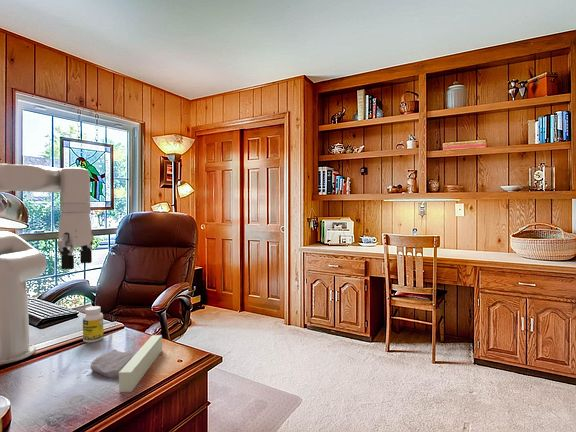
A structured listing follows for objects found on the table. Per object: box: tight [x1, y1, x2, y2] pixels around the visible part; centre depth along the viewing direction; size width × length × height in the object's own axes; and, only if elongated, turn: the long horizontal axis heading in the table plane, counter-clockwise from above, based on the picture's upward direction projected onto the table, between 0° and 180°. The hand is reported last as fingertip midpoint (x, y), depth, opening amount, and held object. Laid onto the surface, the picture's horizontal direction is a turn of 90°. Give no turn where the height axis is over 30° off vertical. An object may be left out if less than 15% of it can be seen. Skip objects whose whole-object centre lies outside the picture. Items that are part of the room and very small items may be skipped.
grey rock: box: [90, 348, 138, 379], centre depth 99 cm, size 12×5×10 cm
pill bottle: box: [82, 305, 104, 343], centre depth 119 cm, size 6×6×11 cm
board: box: [118, 334, 163, 393], centre depth 99 cm, size 3×24×5 cm, turn 2°
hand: (77, 265), depth 105 cm, fingers open, 9 cm apart
